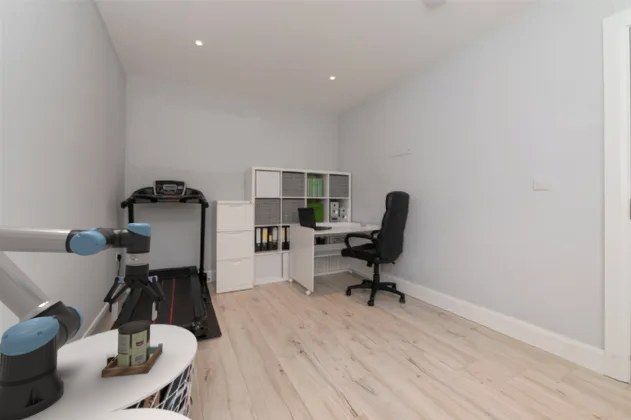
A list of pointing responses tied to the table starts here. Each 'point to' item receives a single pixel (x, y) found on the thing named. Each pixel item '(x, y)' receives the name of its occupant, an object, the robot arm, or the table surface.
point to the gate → (154, 348)
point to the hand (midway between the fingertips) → (134, 319)
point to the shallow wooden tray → (129, 367)
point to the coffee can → (134, 343)
